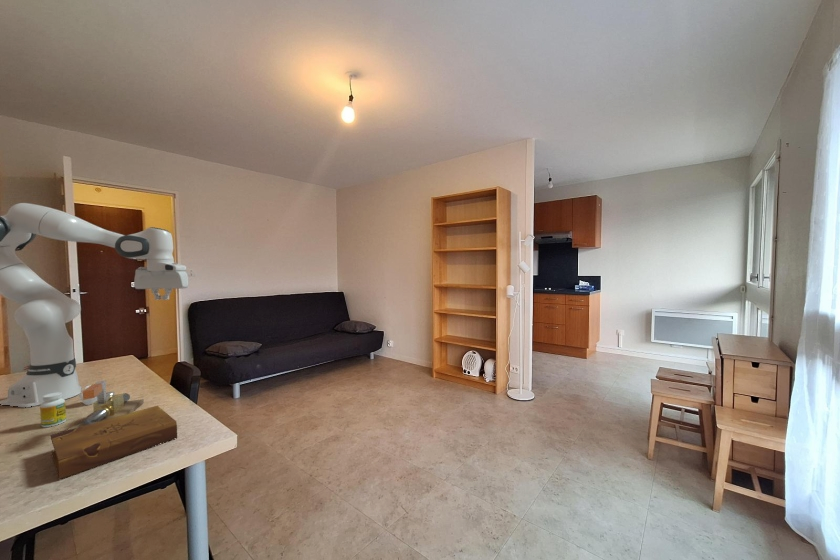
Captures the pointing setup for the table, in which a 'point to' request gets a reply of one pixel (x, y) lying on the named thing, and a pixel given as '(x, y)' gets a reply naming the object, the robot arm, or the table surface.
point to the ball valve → (107, 408)
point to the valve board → (128, 408)
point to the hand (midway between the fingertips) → (162, 299)
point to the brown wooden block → (110, 440)
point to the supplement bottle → (52, 410)
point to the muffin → (87, 401)
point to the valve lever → (98, 392)
